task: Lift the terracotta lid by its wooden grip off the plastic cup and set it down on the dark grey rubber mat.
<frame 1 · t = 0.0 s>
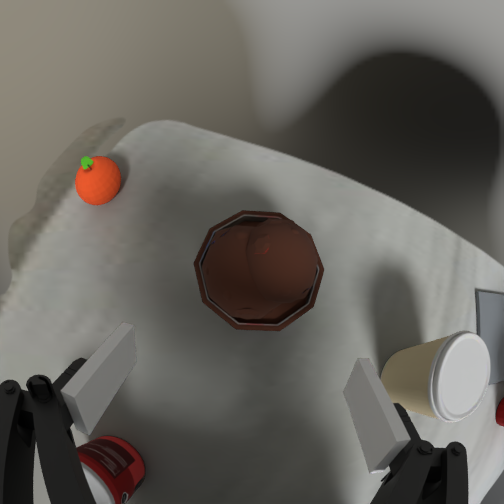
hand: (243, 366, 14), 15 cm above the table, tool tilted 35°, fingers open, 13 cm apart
canned food: (119, 461, 22), on the table
coffee cup: (403, 377, 28), on the table
clementine: (105, 192, 36), on the table
mat: (497, 338, 30), on the table
ice cream bowl: (253, 293, 32), on the table
plastic cup: (502, 409, 25), on the table, touching lid
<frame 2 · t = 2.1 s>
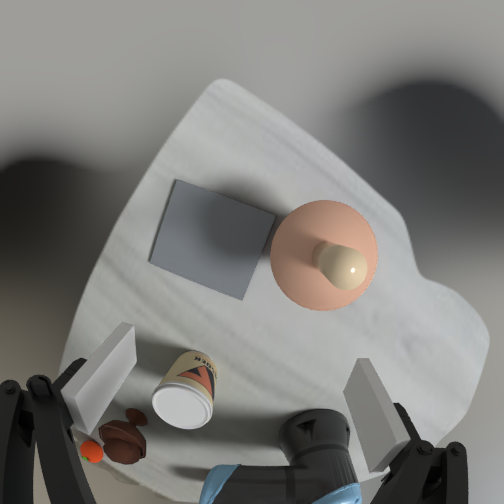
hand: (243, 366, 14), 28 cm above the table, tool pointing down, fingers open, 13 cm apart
coffee cup: (196, 367, 46), on the table
lid: (324, 255, 29), point 12 cm above the table, touching plastic cup
clementine: (95, 444, 52), on the table
mat: (210, 239, 42), on the table
ice cream bowl: (136, 416, 49), on the table
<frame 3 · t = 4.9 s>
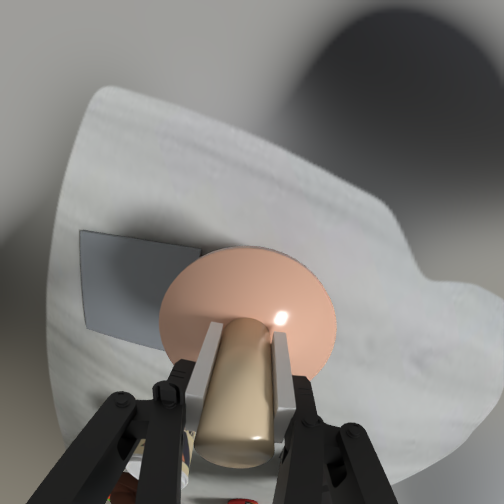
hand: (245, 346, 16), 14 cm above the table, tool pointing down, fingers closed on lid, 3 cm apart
canned food: (243, 502, 45), on the table
coffee cup: (173, 421, 37), on the table
lid: (247, 331, 18), point 12 cm above the table, touching gripper
mat: (134, 293, 31), on the table
ice cream bowl: (139, 462, 42), on the table
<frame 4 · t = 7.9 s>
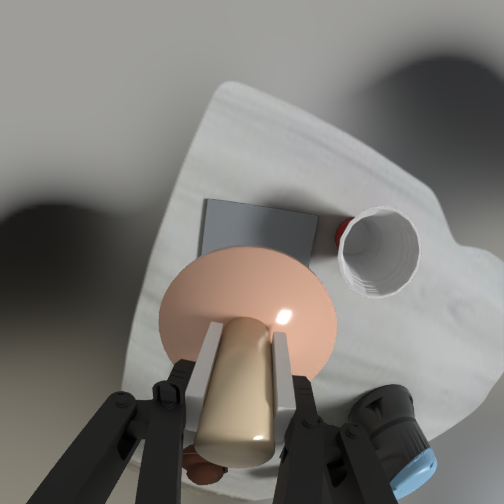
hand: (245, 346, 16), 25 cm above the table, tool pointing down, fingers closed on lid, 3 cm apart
lid: (247, 330, 18), point 23 cm above the table, touching gripper
mat: (256, 253, 41), on the table
ice cream bowl: (208, 434, 51), on the table
plastic cup: (351, 235, 40), on the table
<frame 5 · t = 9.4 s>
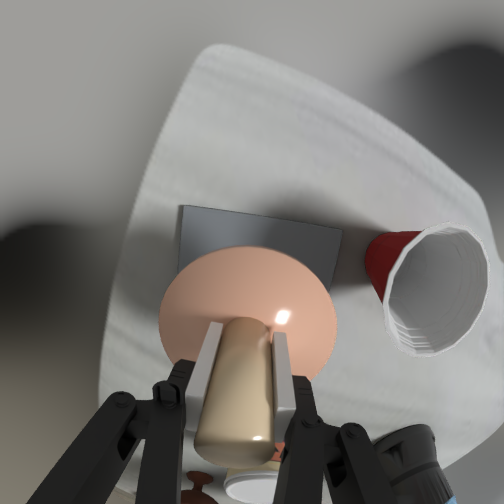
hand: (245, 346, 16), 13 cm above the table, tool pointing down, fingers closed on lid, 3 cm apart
coffee cup: (263, 427, 34), on the table
lid: (247, 330, 18), point 11 cm above the table, touching gripper
mat: (253, 282, 29), on the table
ice cream bowl: (200, 476, 39), on the table
plastic cup: (385, 256, 28), on the table
when the fingers open (5 cm above the table, at t = 11.0 s): lid drops 2 cm, resting on mat.
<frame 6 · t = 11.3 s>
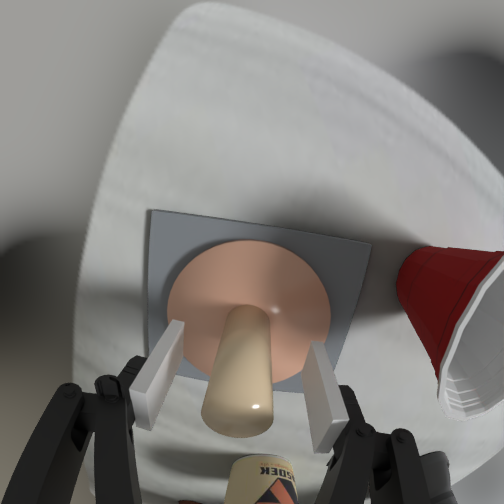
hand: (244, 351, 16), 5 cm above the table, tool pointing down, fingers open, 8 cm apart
coffee cup: (261, 466, 26), on the table
lid: (248, 318, 20), point 1 cm above the table, touching mat
mat: (248, 314, 21), on the table
plastic cup: (420, 276, 20), on the table
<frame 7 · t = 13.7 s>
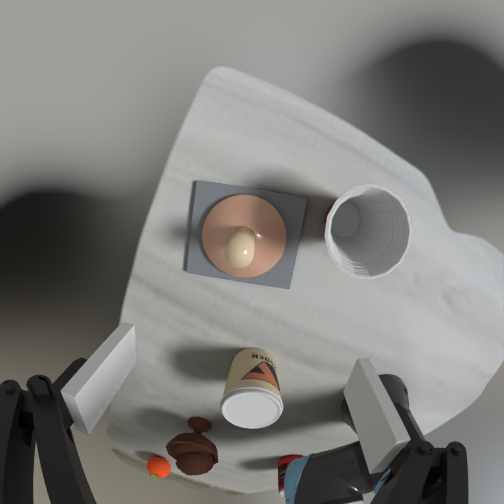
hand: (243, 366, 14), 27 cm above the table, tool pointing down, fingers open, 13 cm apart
canned food: (292, 460, 55), on the table
coffee cup: (253, 363, 46), on the table
lid: (244, 236, 39), point 1 cm above the table, touching mat
clementine: (160, 458, 58), on the table
mat: (244, 235, 40), on the table
ice cream bowl: (199, 423, 52), on the table
plastic cup: (341, 218, 39), on the table
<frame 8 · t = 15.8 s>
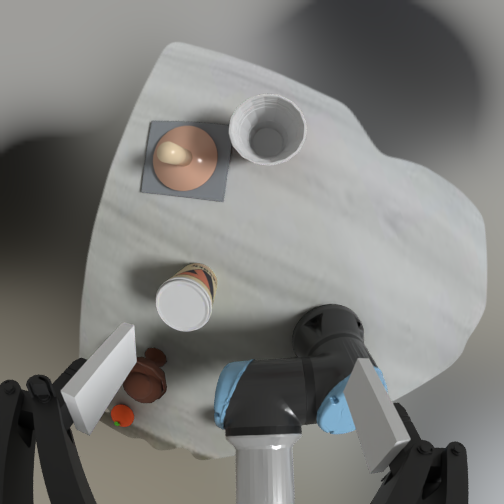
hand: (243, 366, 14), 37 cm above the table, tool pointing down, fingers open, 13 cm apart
coffee cup: (198, 281, 53), on the table
lid: (185, 158, 46), point 1 cm above the table, touching mat
clementine: (126, 408, 63), on the table
mat: (186, 158, 47), on the table
ice cream bowl: (155, 356, 58), on the table
plastic cup: (266, 141, 46), on the table
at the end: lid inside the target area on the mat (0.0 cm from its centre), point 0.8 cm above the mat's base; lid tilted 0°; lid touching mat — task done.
